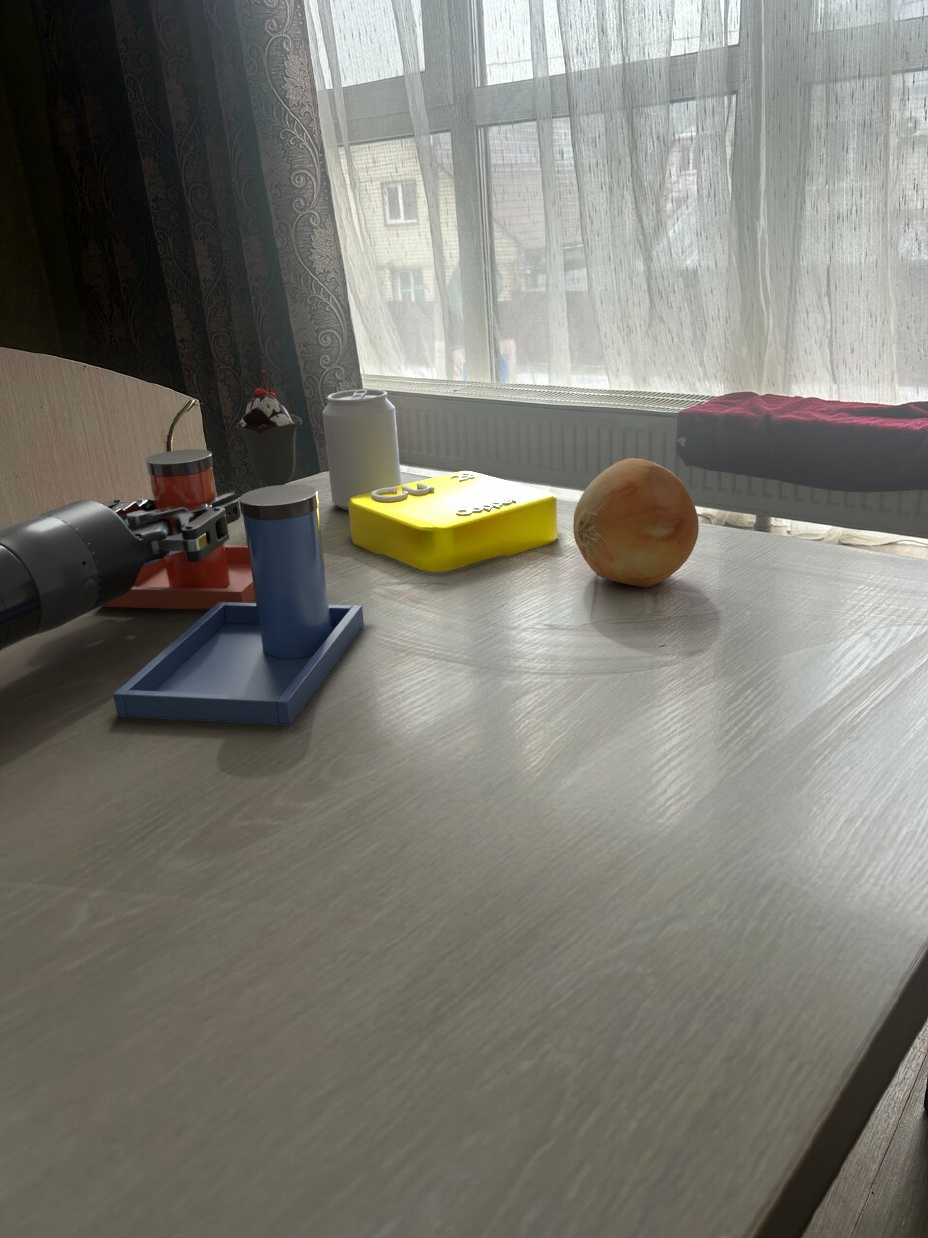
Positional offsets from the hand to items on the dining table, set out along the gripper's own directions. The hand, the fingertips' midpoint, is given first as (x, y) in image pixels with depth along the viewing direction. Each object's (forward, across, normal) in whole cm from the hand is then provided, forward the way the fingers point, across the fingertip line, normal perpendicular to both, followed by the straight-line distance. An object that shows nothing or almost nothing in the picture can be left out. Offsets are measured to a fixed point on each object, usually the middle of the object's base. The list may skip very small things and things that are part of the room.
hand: (207, 503), depth 81 cm
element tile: (+15, -15, +7) cm, 23 cm away
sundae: (+18, +6, +7) cm, 20 cm away
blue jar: (-11, -15, +6) cm, 20 cm away
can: (+24, -1, +7) cm, 25 cm away
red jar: (-3, 0, +6) cm, 7 cm away
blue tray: (-15, -14, +7) cm, 21 cm away
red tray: (-2, 0, +7) cm, 7 cm away
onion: (+9, -34, +7) cm, 36 cm away
